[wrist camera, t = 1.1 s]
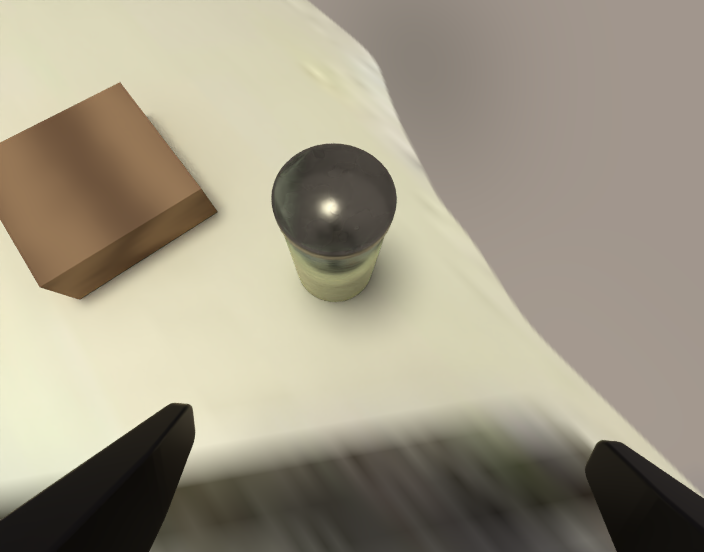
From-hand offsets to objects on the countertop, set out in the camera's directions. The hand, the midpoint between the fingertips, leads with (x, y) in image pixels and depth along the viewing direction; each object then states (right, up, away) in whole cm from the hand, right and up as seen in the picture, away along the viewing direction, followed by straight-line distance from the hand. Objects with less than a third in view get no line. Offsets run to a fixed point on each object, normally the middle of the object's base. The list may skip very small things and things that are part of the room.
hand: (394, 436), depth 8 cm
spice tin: (-2, +4, +15) cm, 16 cm away
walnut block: (-17, +9, +16) cm, 25 cm away
